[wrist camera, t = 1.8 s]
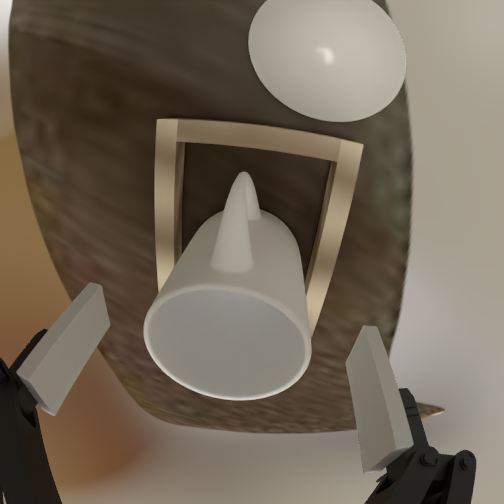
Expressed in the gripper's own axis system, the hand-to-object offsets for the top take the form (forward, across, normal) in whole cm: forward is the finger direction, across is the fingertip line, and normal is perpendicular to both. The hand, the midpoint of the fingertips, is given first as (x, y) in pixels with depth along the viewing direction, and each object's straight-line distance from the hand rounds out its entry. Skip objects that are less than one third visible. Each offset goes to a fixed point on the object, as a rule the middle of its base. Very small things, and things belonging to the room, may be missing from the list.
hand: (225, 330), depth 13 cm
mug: (+10, 0, 0) cm, 11 cm away
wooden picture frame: (+10, 0, 0) cm, 10 cm away
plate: (+10, +4, +16) cm, 19 cm away
